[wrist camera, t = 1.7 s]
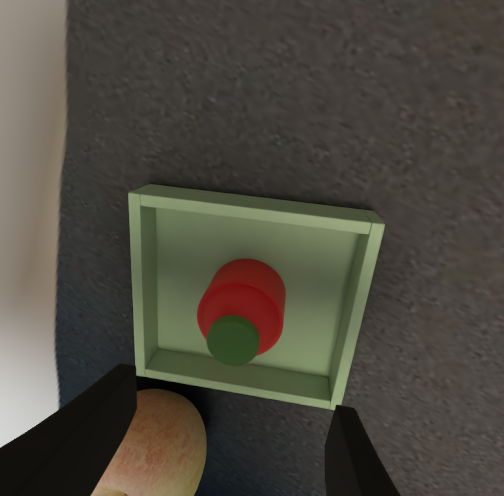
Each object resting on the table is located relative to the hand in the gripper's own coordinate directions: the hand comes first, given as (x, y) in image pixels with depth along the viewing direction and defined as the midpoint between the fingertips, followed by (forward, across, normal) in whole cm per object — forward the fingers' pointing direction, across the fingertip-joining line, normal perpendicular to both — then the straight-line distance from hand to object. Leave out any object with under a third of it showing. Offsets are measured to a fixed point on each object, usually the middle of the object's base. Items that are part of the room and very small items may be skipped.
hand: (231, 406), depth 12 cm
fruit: (+9, +5, +11) cm, 15 cm away
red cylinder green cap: (+8, +1, 0) cm, 8 cm away
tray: (+9, +1, 0) cm, 9 cm away
